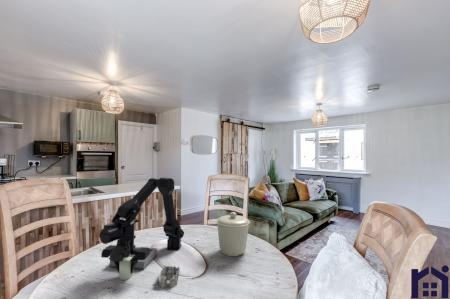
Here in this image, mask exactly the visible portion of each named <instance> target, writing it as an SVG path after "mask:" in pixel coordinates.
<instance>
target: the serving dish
mask: <svg viewBox="0 0 450 299" xmlns="http://www.w3.org/2000/svg"><path fill="white" fill-rule="evenodd" d="M141 247H142V246H140V247H137V246H135V248H134V250H139V249H140V248H141ZM149 248H150V250H151V251H150V255H149V256H148V257H147V258H146V259H145V260H138V262H137V264H136V267H135V269H134V270H137V271H138V270H139V271H140V270H141V271H145V269H146V268H147V267H148V266H149V265H150V264H151V263H152V261H153V260H154V259H155V258H156V257H157V255H158V254H157V252H158V251H157V250H158V248H156V247H155V248H154V247H149ZM128 257H132V258H133V255H129V256H128ZM109 268H110V269H117V268H116V265H115V263H114V261H111V260H110V259H109Z"/></svg>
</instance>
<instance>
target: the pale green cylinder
mask: <svg viewBox="0 0 450 299" xmlns="http://www.w3.org/2000/svg"><path fill="white" fill-rule="evenodd" d="M131 259H132V257H128V258H124V259H123V261H121V262H119V273H118V278H119V280H121V281H128V280H130V279H131V278H132V277H133V273H132V274H131V261H130V260H131Z"/></svg>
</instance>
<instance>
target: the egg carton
mask: <svg viewBox="0 0 450 299" xmlns="http://www.w3.org/2000/svg"><path fill="white" fill-rule="evenodd" d="M166 275H167V279H168V280H164V279H165V278H166ZM179 275H180V266H177V267H176V266H175V265H174V266H171V265H168V266H167V265H163V267H162V269H161V271H160V274H159V275H158V282H159V284H158V285H159V286H160V287H161V288H164V289H165V288H166V287H167V286H169V287H170V288H174V287H175V286H177V285H178V281H179Z"/></svg>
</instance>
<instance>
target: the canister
mask: <svg viewBox="0 0 450 299" xmlns="http://www.w3.org/2000/svg"><path fill="white" fill-rule="evenodd" d="M215 222H216V225H217V237H218V245H219V249H220V250H219V251H220V252H221V253H222V254H224V255H225V256H228V257H238V256H241V255H242V254H244V253H245V251H246V248H247V242H248V233H249V225H250V224H251V221H250V220H249V219H248V218H247V217H245V216H243V215H237V213H236V212H235V211H231V212H230V213H229V214H226V215H222V216H220V217H218V218H217V219H216V220H215Z"/></svg>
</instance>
